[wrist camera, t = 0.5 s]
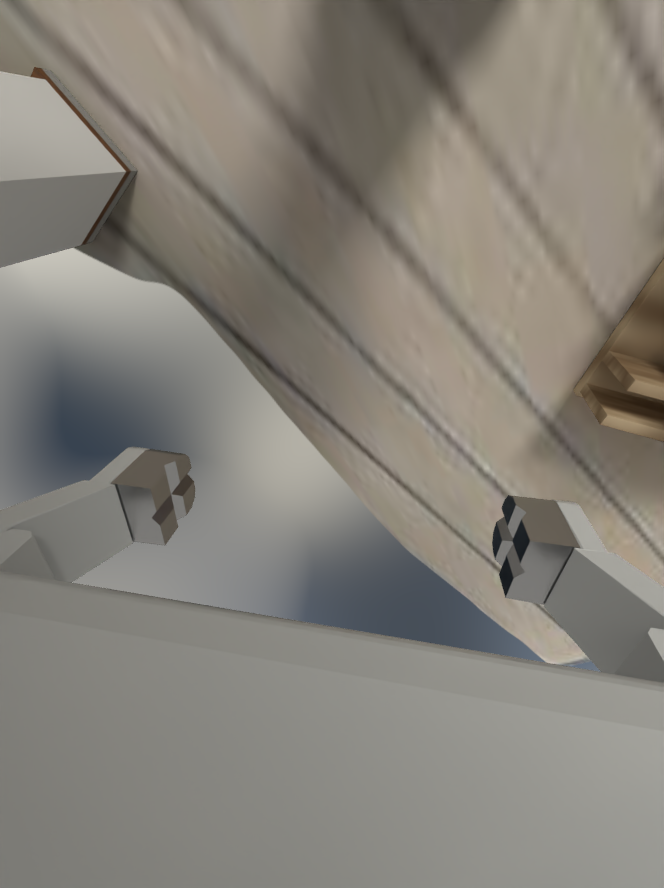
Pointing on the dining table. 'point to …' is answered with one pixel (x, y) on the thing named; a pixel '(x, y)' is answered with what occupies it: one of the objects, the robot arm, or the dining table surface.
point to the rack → (632, 368)
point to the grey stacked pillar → (52, 169)
